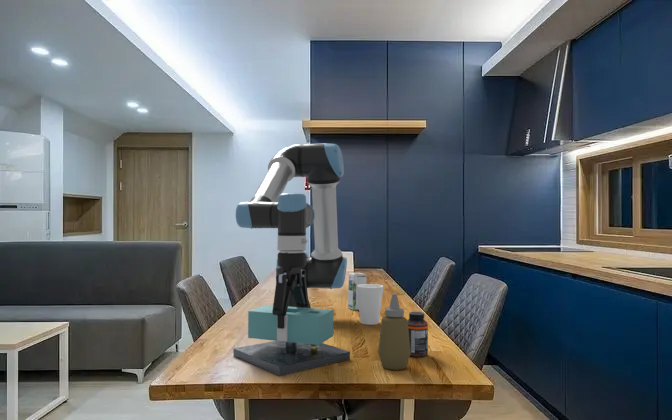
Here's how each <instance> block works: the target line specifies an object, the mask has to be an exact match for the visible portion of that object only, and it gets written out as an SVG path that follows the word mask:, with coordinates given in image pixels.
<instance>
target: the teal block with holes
mask: <svg viewBox="0 0 672 420" xmlns="http://www.w3.org/2000/svg"><path fill="white" fill-rule="evenodd" d="M272 311H273V304H264V305H261V306H259V307H256V308H254V309H250V310H248V311H247V312H248V314H247V318H248V319H247V321H248V323H247V325H248V326H247V329H248V330H247V338H248V339H257V340H266V341H277V315H273V313H272ZM286 315H288V341H287V342H293V343H303V344H313V345H320V344H322V343H324V342H325V343H326V341H328V340H330V339H331V338H333V337H334V310H333V309H326V308H325V309H324V308H312V307H311V308H302V307H289V306H288V308H287V313H286ZM284 342H286V341H284Z"/></svg>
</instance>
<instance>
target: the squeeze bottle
mask: <svg viewBox="0 0 672 420" xmlns="http://www.w3.org/2000/svg"><path fill="white" fill-rule="evenodd" d="M404 313H405V309H404V308H402V307H400V304H399V298H398V294H397V293H392V294H391V299H390V302H389V306H388V307H386V308H385V309H384V315H385V316H383V317H382V318H381V321H380V331H379V340H378V348H377V349H378V350H377V353H378V356H379V360H380V362H381V366H382V368H384V369H387V370H393V371H398V370H399V371H400V370H405V369H406V368H407V366H408V363H409V359H410V357H411V356H410V353H411V352H410V341H409V331H408V320H409V319H407V318H406V317H405V316H404V315H405V314H404Z"/></svg>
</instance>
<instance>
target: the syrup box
mask: <svg viewBox="0 0 672 420" xmlns="http://www.w3.org/2000/svg"><path fill="white" fill-rule="evenodd" d="M361 284H367V273H362V272H348V287H347V289H348V291H347V308H348V309H350V310H353V311H359V305H358V297H357V293H356V286H357V285H361Z"/></svg>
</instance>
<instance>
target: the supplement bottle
mask: <svg viewBox="0 0 672 420" xmlns="http://www.w3.org/2000/svg"><path fill="white" fill-rule="evenodd" d="M408 315H409V316H408V319H407V320H408V331H409V341H410V352H411V353H410V357H414V358H424V357H425V356H426V357H427V356H428V354H429V353H428V352H429V335H428V334H429V333H428V332H429V324H428V321H426V320H425V313H424V312H422V311H410V312H409V313H408Z"/></svg>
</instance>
